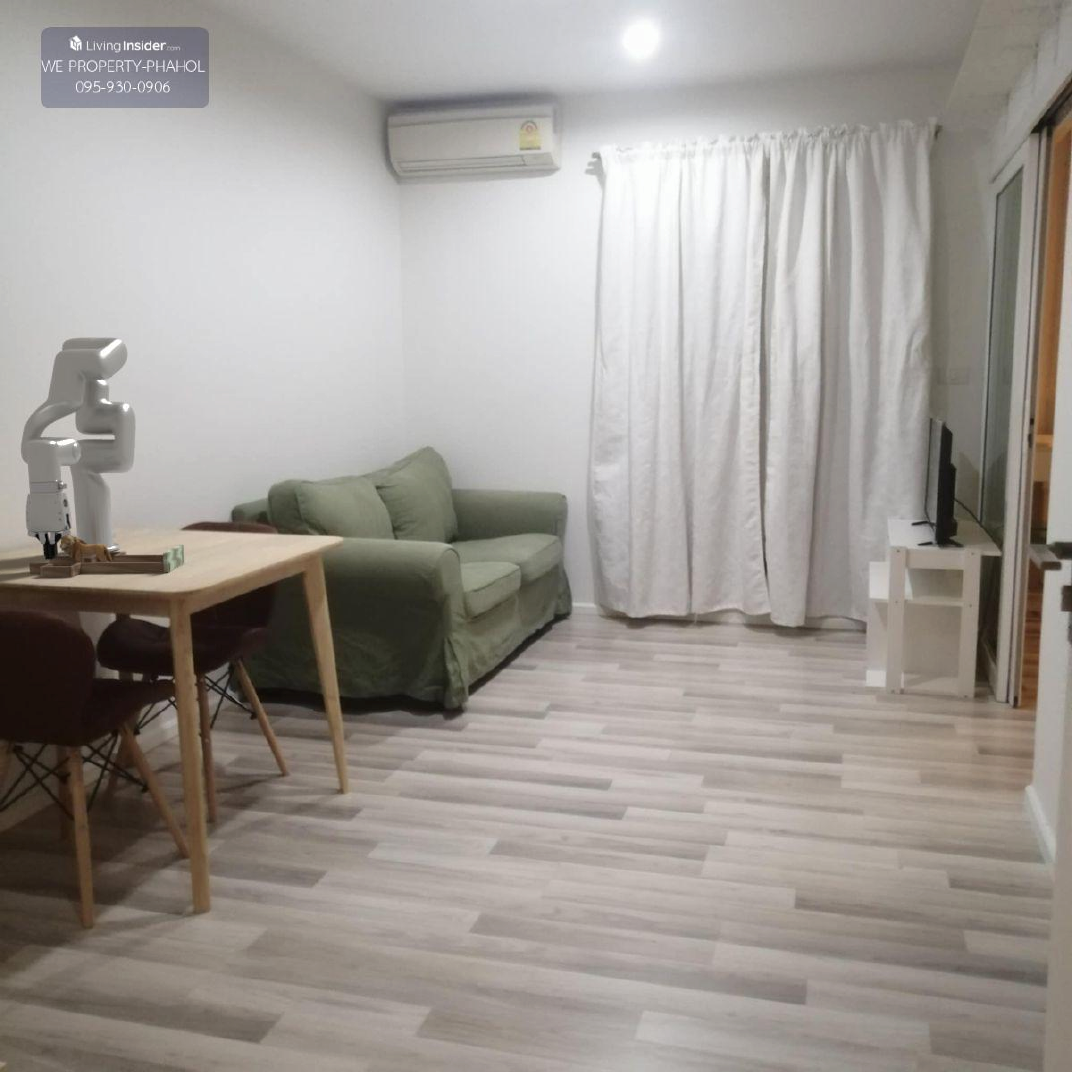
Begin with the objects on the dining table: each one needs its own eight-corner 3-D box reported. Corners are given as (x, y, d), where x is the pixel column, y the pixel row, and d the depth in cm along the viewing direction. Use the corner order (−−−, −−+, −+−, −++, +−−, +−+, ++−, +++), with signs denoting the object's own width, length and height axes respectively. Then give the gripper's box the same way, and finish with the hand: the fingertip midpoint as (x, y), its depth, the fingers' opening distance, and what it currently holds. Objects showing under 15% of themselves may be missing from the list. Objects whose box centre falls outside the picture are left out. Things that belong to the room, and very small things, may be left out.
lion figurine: (57, 571, 265) (55, 536, 264) (66, 567, 271) (64, 533, 269) (115, 570, 266) (113, 536, 264) (123, 566, 271) (121, 532, 270)
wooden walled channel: (59, 561, 279) (58, 542, 279) (189, 560, 280) (188, 542, 279) (20, 577, 258) (19, 557, 257) (162, 576, 258) (160, 556, 257)
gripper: (81, 486, 269) (86, 556, 272) (23, 486, 269) (29, 556, 272) (68, 489, 261) (73, 561, 264) (9, 489, 261) (15, 561, 264)
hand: (51, 558), depth 268 cm, fingers closed
